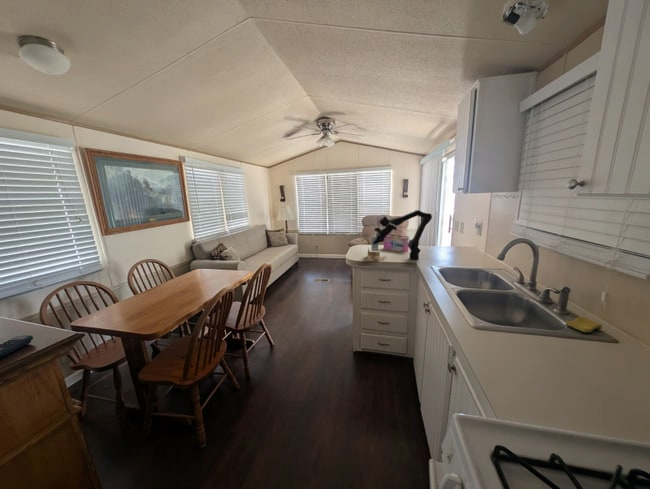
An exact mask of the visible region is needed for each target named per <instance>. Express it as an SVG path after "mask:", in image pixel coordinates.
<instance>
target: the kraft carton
mask: <svg viewBox="0 0 650 489" xmlns="http://www.w3.org/2000/svg"><path fill="white" fill-rule="evenodd" d="M380 253H381V251H370V247H368V249H367V261H371V262H372V261H373V262H388V257H387V256H380V255H381V254H380Z"/></svg>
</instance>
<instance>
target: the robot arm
mask: <svg viewBox="0 0 650 489" xmlns="http://www.w3.org/2000/svg"><path fill="white" fill-rule="evenodd" d="M415 217H419V218H420V223H419V225H418V227H417V230H416V231H415V234H414V236H413V238H412V239H409V240H408V249H409V250H410V253H409V260H414V261H415V260H417V261H418V260H419V256H420V252H421V249H420V248H419V245H420V244H419V241H420V239H421V237H422V234H423V232H424V230H425V228H426V226H427V225H428V224H429V223H430V221H431V220H432V219H433V215H432V214H431V213H430V212H423V211H421V210H419V209H418V210H417V209H416V210H414V211H412V212H411V211H410V213H407V214H405V215H402V216H397V217H393V218H392V219H388V218H387V216H383V217H382V218H380V219H378V223H379V224H380V225H381V226H382V227H383V228H380V227H379V226H375V227H374V230H373V231H374V232H377V234H376V236H377V239H376V240H375V241H374V243H373V244H377V243H378V244H379V243H384V238H385V237H386V236H387V235H389V234H390V233H392V231H397V228H398V227H397V226H400V225H401V224H403V223H404V222H406V221H408V220H410V219H413V218H415Z"/></svg>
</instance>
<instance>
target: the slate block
mask: <svg viewBox="0 0 650 489" xmlns="http://www.w3.org/2000/svg"><path fill="white" fill-rule="evenodd" d="M376 239H377V235H371V251H370V252H379V243H377V244H373V243H374V241H375V240H376Z"/></svg>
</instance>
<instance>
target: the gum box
mask: <svg viewBox="0 0 650 489" xmlns="http://www.w3.org/2000/svg"><path fill="white" fill-rule="evenodd" d="M409 240H410V236H406V235H399V234H398V235H397V234H390V233H389V235H387V236H386V237H385V238H384V241H383V249H384V250H391V251H395V252H402V253H405V252H408V251H409V247H408V243H409Z"/></svg>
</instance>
